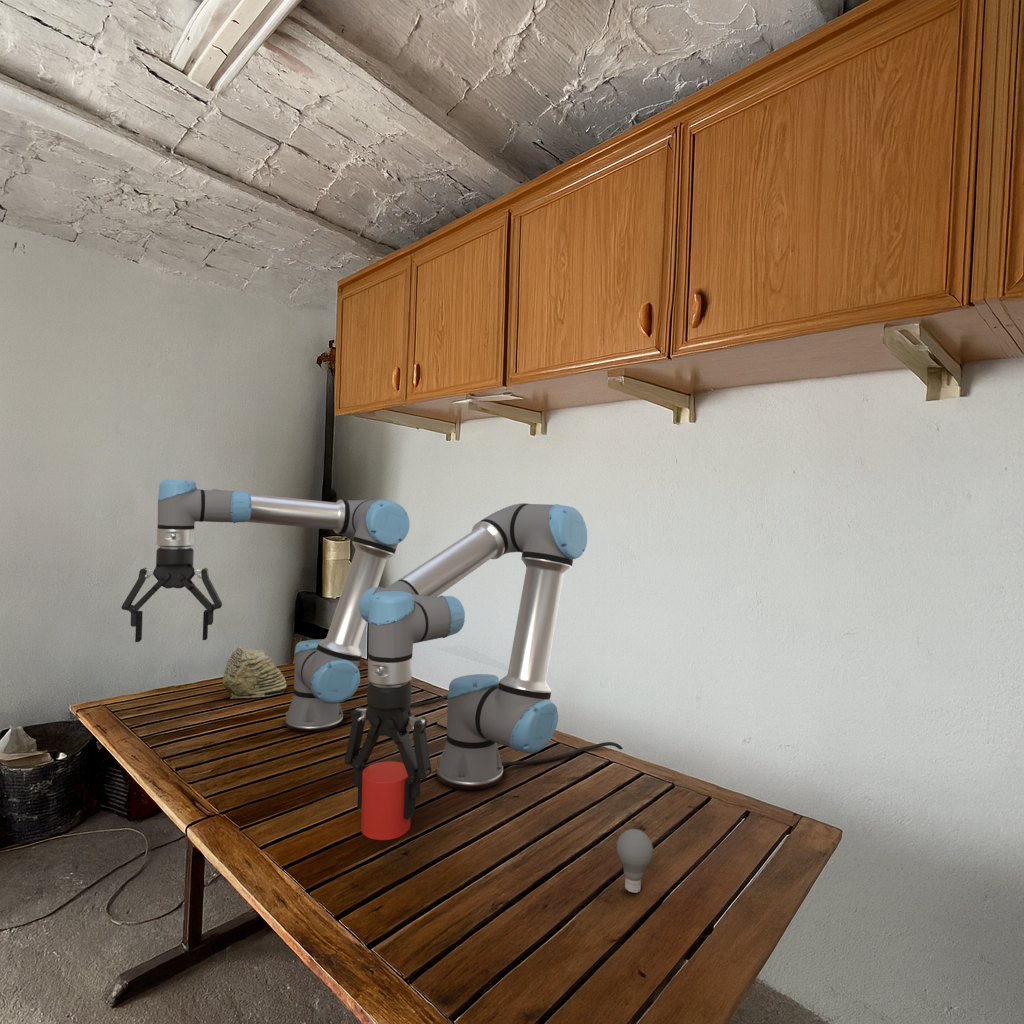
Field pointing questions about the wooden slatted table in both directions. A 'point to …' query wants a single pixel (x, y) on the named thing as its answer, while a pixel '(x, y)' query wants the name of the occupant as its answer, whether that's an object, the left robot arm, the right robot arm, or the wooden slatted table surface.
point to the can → (384, 801)
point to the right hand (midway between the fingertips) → (386, 810)
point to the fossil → (252, 674)
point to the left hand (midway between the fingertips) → (172, 640)
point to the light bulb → (634, 857)
